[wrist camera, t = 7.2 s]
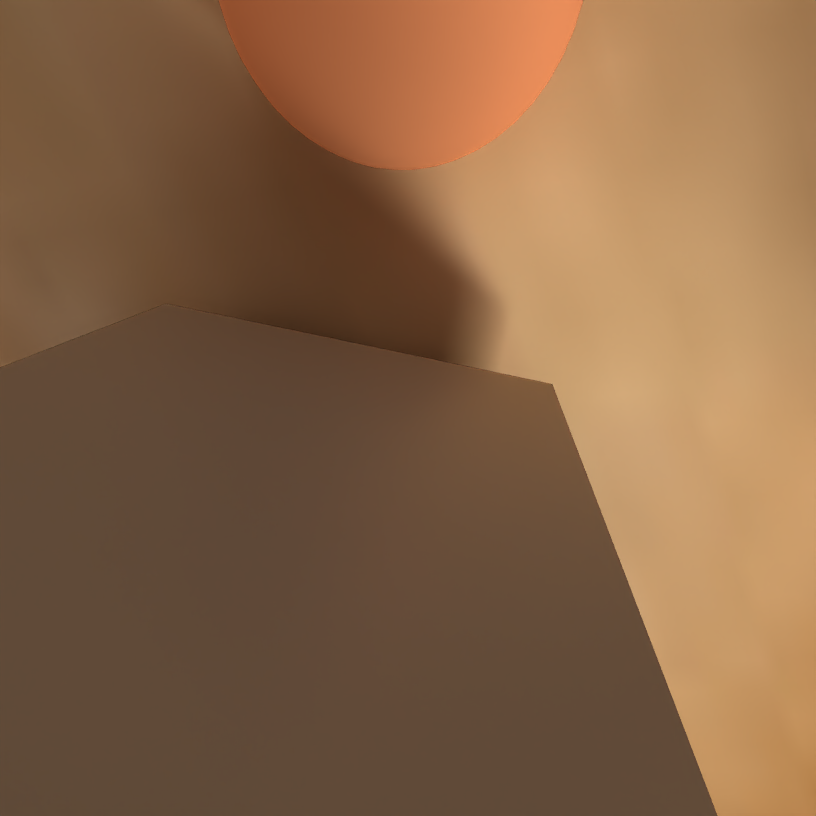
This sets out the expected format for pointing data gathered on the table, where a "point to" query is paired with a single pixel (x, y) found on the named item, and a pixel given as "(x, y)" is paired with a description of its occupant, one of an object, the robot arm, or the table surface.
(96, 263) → the table surface
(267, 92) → the ball
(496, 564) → the grey cube
